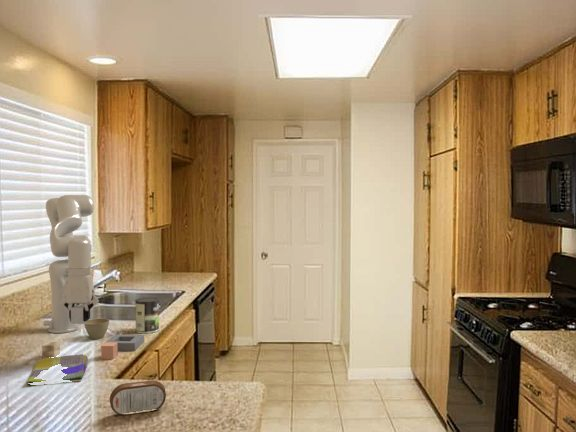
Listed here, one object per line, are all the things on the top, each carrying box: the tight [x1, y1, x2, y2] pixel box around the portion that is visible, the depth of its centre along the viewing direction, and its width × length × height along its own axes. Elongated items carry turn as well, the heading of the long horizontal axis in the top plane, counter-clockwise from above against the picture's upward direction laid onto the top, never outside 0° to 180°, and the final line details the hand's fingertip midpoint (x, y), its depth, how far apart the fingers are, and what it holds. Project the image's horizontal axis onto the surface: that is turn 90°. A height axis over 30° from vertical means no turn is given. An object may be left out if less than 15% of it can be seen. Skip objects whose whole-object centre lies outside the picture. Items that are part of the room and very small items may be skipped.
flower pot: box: [83, 317, 110, 340], centre depth 214 cm, size 10×10×7 cm
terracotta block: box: [100, 341, 119, 360], centre depth 188 cm, size 4×4×5 cm
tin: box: [109, 379, 167, 415], centre depth 140 cm, size 15×3×8 cm, turn 111°
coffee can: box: [134, 296, 160, 334], centre depth 226 cm, size 10×10×14 cm
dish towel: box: [26, 353, 90, 385], centre depth 172 cm, size 18×24×3 cm
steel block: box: [71, 304, 87, 325], centre depth 188 cm, size 4×4×6 cm
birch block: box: [41, 341, 61, 359], centre depth 188 cm, size 4×4×5 cm
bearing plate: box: [105, 334, 145, 352], centre depth 202 cm, size 12×12×3 cm
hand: (79, 319), depth 188 cm, fingers closed on steel block, 4 cm apart
